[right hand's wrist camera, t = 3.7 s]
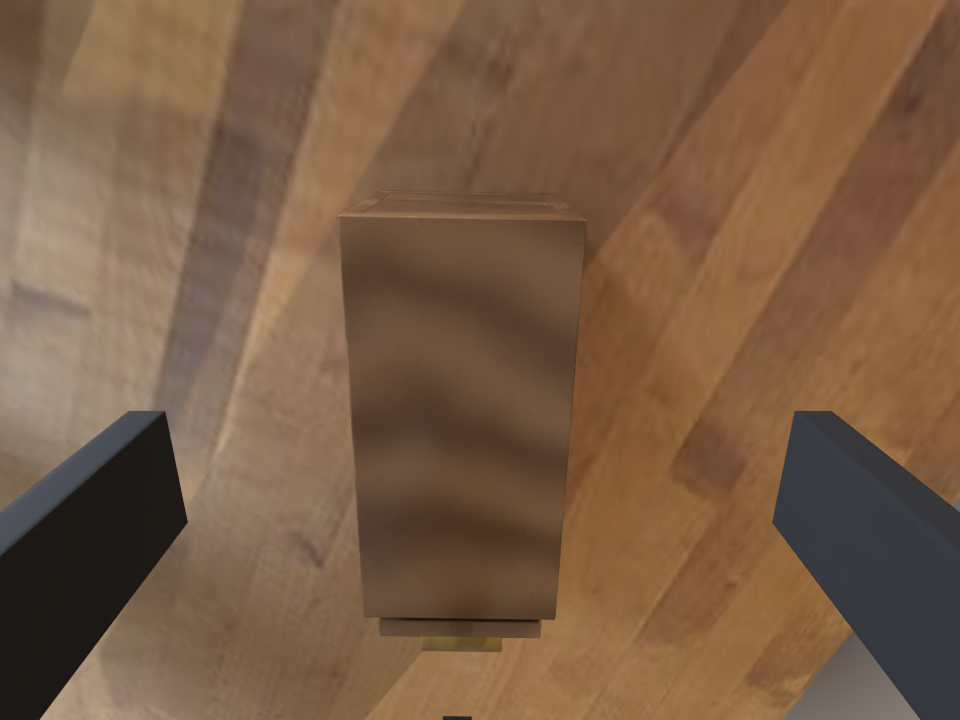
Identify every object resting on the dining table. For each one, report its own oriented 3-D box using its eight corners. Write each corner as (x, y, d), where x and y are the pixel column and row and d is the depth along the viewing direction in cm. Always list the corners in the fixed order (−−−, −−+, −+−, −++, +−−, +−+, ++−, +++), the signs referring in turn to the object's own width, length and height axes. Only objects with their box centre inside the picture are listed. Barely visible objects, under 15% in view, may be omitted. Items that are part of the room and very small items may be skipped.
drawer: (525, 601, 45) (535, 711, 37) (401, 600, 45) (383, 709, 37) (544, 255, 36) (564, 294, 27) (388, 253, 36) (360, 290, 27)
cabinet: (537, 504, 43) (555, 620, 33) (391, 501, 43) (363, 617, 33) (556, 193, 36) (587, 219, 25) (378, 190, 36) (337, 214, 25)
